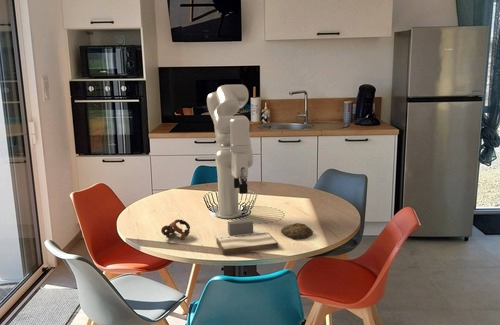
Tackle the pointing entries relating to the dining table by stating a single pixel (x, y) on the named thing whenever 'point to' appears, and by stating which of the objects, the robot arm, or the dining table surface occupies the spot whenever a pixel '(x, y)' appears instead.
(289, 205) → the dining table surface
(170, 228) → the rusty gear assembly
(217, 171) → the robot arm
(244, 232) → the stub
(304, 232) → the bread roll
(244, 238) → the light wooden flat board
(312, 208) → the dining table surface
